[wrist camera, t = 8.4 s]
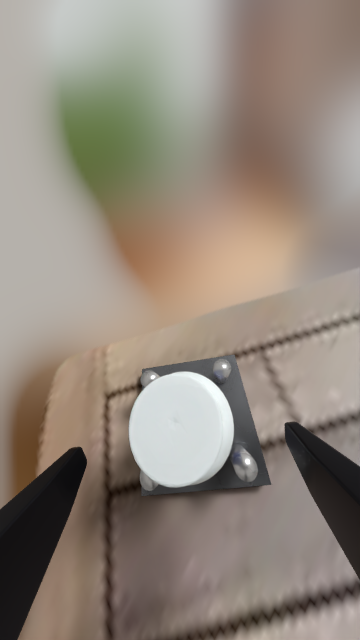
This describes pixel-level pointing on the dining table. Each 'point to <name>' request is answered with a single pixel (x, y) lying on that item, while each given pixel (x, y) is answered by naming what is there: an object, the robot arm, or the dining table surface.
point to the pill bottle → (181, 429)
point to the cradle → (245, 452)
